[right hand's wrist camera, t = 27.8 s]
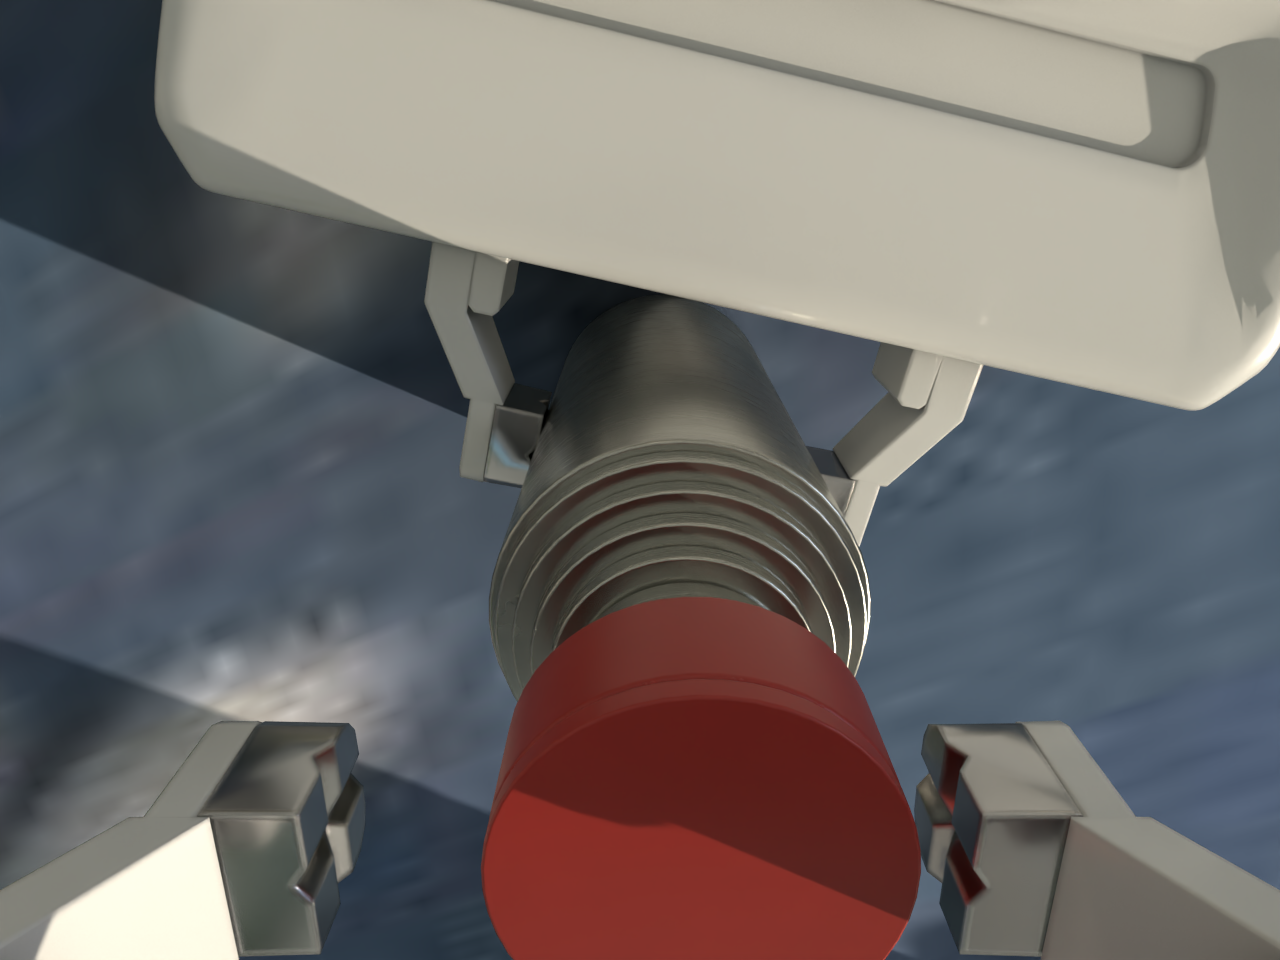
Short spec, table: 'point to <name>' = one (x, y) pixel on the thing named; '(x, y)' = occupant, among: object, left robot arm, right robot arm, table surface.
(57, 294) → the table surface
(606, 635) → the cap
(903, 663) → the table surface
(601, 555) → the bottle
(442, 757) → the table surface
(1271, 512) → the table surface
